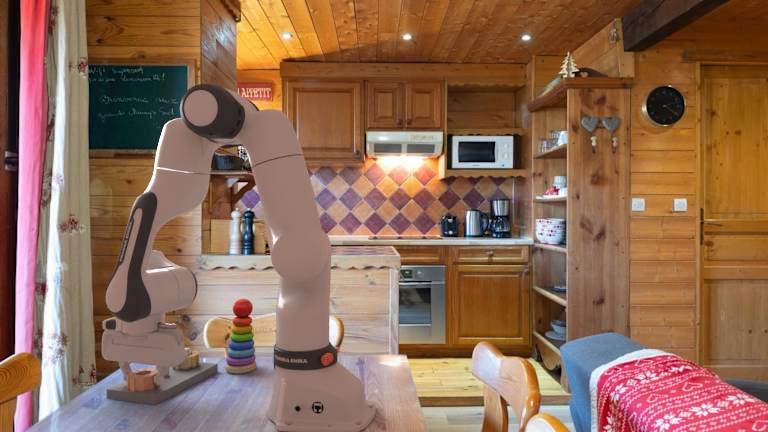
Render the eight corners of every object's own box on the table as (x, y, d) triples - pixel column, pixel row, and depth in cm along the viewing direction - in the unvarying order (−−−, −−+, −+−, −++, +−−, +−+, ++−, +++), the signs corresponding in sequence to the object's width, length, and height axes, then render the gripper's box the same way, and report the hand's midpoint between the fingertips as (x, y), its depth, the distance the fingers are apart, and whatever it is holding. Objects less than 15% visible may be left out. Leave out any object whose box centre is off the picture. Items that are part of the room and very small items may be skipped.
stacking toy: (247, 375, 117) (247, 302, 117) (219, 373, 119) (219, 301, 119) (261, 365, 125) (262, 297, 125) (234, 363, 127) (235, 295, 127)
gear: (205, 362, 121) (205, 346, 121) (188, 370, 114) (188, 354, 114) (184, 360, 123) (184, 344, 123) (166, 368, 116) (166, 351, 116)
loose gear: (166, 382, 107) (166, 369, 107) (144, 393, 101) (144, 379, 101) (143, 379, 109) (143, 366, 109) (120, 389, 103) (120, 376, 103)
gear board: (217, 371, 121) (217, 346, 121) (154, 404, 99) (154, 374, 99) (175, 366, 124) (176, 342, 124) (106, 398, 103) (106, 369, 103)
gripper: (191, 321, 105) (191, 381, 105) (119, 315, 110) (119, 373, 111) (172, 328, 99) (171, 392, 99) (96, 321, 104) (96, 382, 104)
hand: (143, 382), depth 105 cm, fingers closed on loose gear, 7 cm apart
